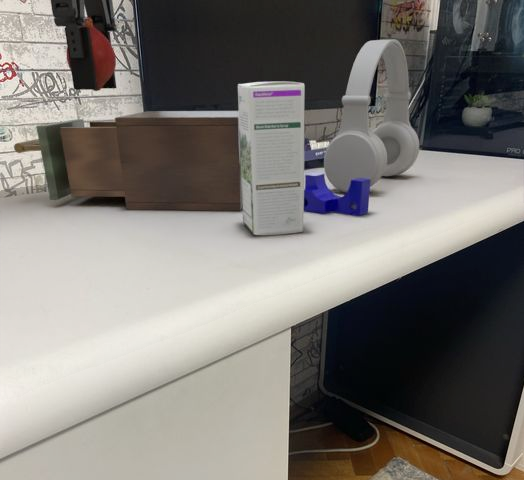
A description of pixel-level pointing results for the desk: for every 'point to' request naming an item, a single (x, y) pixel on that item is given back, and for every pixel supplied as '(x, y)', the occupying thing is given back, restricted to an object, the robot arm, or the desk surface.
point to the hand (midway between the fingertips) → (96, 88)
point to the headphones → (357, 122)
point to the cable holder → (326, 201)
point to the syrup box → (272, 156)
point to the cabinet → (181, 160)
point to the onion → (100, 55)
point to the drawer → (79, 158)
